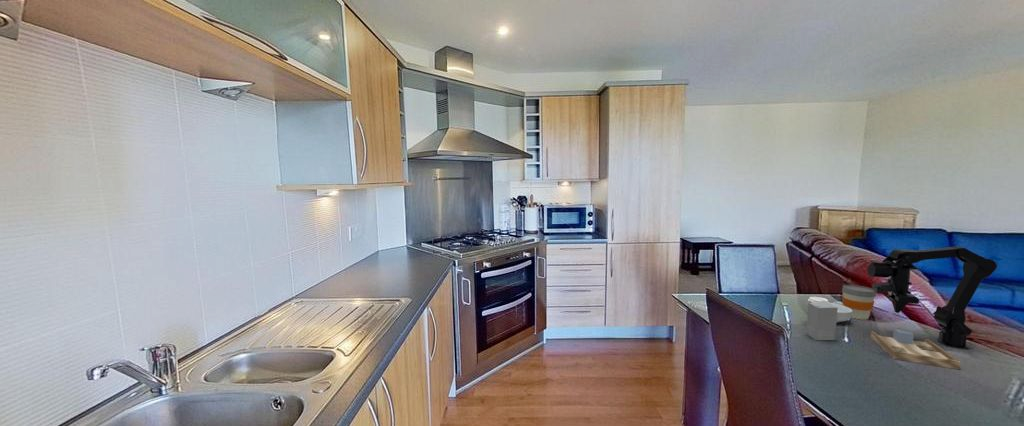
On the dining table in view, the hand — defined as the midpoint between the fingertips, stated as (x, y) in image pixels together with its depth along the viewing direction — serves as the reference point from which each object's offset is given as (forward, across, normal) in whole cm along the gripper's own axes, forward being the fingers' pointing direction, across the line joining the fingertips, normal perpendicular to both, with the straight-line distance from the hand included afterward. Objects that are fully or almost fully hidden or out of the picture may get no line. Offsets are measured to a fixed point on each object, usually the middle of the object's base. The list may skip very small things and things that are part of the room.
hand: (896, 312), depth 158 cm
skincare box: (+12, +14, -29) cm, 34 cm away
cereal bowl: (+12, -15, -19) cm, 27 cm away
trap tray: (+12, +14, 0) cm, 18 cm away
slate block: (+10, +7, 0) cm, 13 cm away
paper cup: (+12, -1, -27) cm, 30 cm away
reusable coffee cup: (+12, -27, -5) cm, 30 cm away
